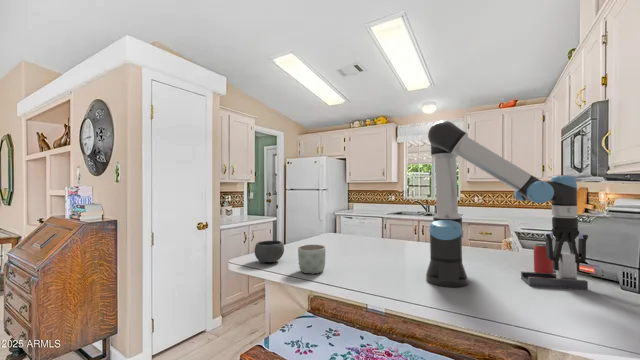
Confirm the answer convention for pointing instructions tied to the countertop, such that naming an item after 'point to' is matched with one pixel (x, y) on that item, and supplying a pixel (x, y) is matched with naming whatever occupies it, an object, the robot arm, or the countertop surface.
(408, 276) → the countertop surface
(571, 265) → the grey rectangular block
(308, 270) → the planter
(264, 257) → the bowl
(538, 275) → the dark grey tray
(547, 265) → the beer can
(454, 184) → the robot arm
